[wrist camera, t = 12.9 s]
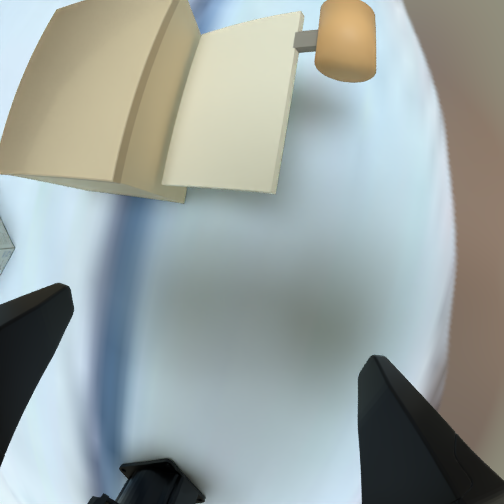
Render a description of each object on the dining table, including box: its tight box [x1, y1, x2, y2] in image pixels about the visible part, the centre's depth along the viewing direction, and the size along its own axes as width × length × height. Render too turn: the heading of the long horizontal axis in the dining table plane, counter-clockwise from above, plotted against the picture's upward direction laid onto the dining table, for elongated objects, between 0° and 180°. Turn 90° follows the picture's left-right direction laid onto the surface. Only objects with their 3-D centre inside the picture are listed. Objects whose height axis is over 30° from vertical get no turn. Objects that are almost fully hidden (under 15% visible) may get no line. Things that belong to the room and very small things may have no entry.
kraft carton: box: [0, 0, 201, 204], centre depth 14 cm, size 8×10×10 cm
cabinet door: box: [162, 0, 376, 194], centre depth 11 cm, size 2×9×9 cm
